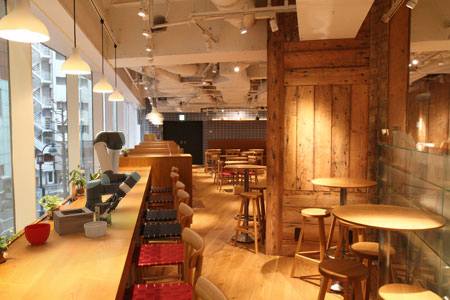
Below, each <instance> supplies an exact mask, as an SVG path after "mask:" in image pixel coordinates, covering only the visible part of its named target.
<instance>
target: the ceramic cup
mask: <svg viewBox="0 0 450 300" xmlns="http://www.w3.org/2000/svg"><path fill="white" fill-rule="evenodd" d="M23 229H24V230H23V231H24V237H25V239H26V241H27V242H28V243H29V244H30V245H31V246H41V245H45V243H46V242H47V241H48V240H49V237H50V235H51V224H50V223H47V222H38V223H32V224H28V225H26V226H24V228H23Z"/></svg>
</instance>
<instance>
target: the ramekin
mask: <svg viewBox="0 0 450 300" xmlns="http://www.w3.org/2000/svg"><path fill="white" fill-rule="evenodd" d="M107 226H108V225H107V222H104V221H95V220H94V222H89V223H86V224H84V228H85V232H84V234H85V236H86V237H87V238H90V239H91V238H93V239H94V238H95V239H97V238H101V237H104V236H105V235H106V234H107V229H108V227H107Z"/></svg>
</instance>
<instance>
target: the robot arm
mask: <svg viewBox="0 0 450 300" xmlns="http://www.w3.org/2000/svg"><path fill="white" fill-rule="evenodd" d="M92 146H93V149H94V150H95V152H96V156H97V159H98V163H99V167H100V171H101V173H102V174H101V175H100V179H92V180H89V181H87V182H86V185H85V197H86V201H85V203H84V207H86V208H88V209H89V210H90V211H92V212H95V204H96V203H100V202H110V203H111V206H110V207H109V208H108V209H107V210H106V212H105V213H104V214H103V215H102V216H103V217H104V218H106V217H107V216H108V215H109V214H110V212H111V213H112V212H113V211H115V210H116V208H117V207H118V205H119V203H120V202H121V201H122V199H124V198H125V197H126V196H127V194H129V192H131V190H132V189H133V188H134V187H135V186H136V185H137V183H139V181H141V179H142V177H141V176H142V175H141V174H140V173H138V172H137V171H135V170H132V172H128V171H123V172H120V173H119V167H120V166H119V164H120V153H121V150H123V147H124V146H126V136H125V133H124V132H123V131H122V130H121V131H120V130H119V131H118V130H102V131H99V132H98V133H97V134H96V135H95V136H94V138H93V140H92ZM103 196H110V197H109V198H107V199H106V200H105V201H103Z"/></svg>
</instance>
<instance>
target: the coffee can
mask: <svg viewBox="0 0 450 300" xmlns="http://www.w3.org/2000/svg"><path fill="white" fill-rule="evenodd" d="M111 204H112V203H110V202H105V201H103V202H100V203H96V204H95V211H94V212H95V213H94V221H104V222H107V226H110V225H112V211H111V212H110V214H109V215H108V216H107V217H106V218H104V217H103V216H102V215H103V214H104V213H105V212H106V210H107V209H108V208H109V207H110V206H111Z"/></svg>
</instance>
